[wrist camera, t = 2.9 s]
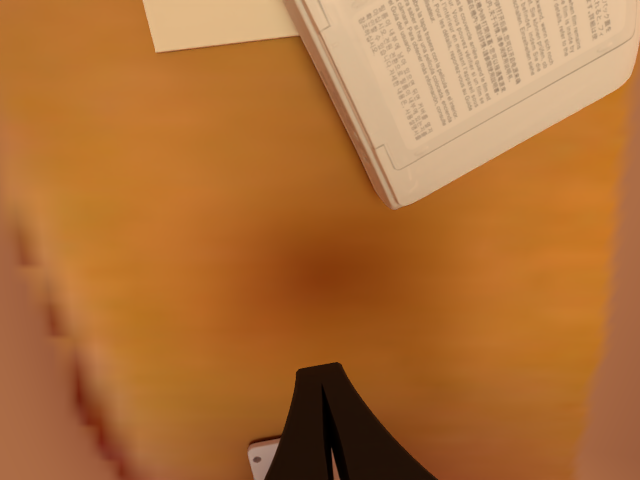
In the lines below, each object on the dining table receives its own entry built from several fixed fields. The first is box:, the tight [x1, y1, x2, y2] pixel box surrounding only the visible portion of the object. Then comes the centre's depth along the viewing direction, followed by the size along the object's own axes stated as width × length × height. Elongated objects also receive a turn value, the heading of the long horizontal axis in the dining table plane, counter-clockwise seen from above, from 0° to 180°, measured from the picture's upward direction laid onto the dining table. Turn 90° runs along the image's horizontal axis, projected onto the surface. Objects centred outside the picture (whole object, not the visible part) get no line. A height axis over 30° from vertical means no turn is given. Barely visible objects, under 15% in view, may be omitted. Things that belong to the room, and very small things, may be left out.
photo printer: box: [282, 0, 640, 210], centre depth 15 cm, size 10×4×12 cm
